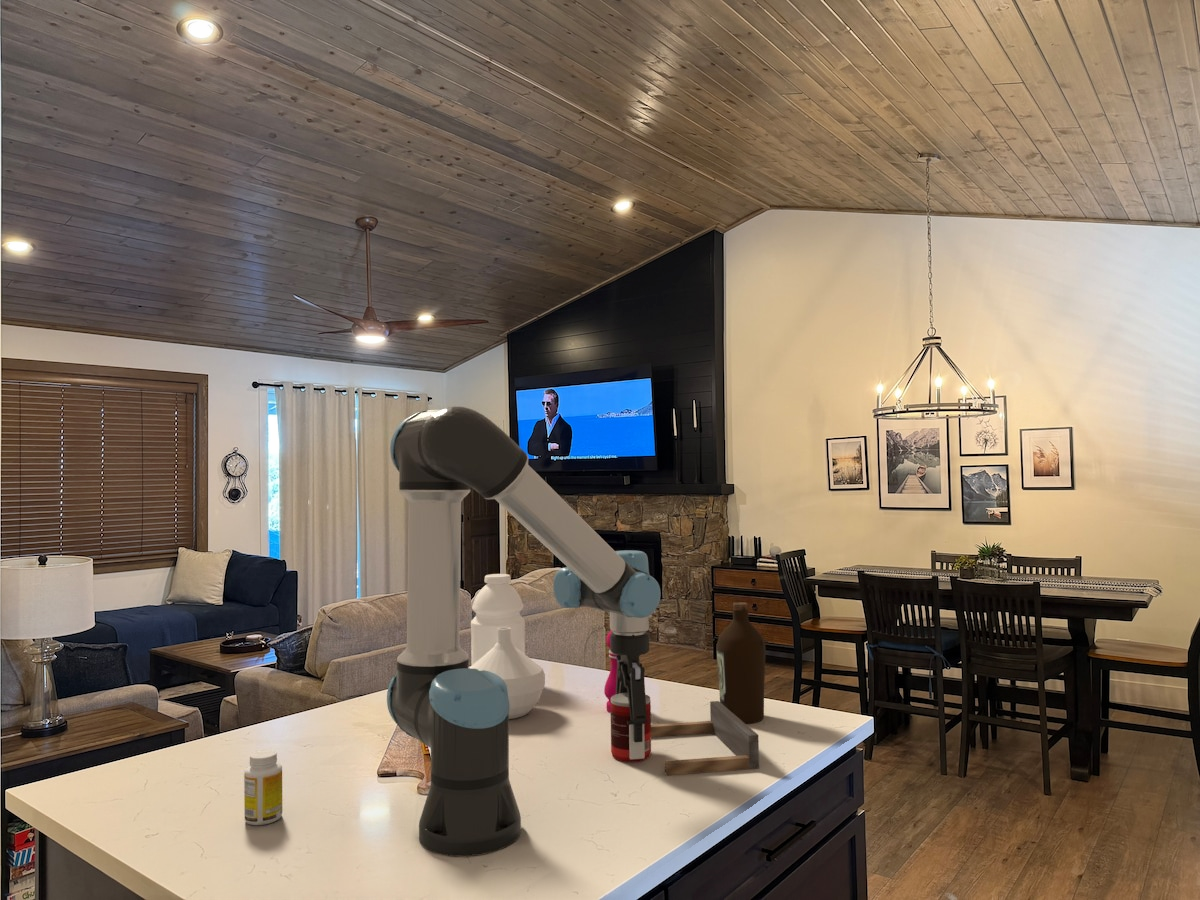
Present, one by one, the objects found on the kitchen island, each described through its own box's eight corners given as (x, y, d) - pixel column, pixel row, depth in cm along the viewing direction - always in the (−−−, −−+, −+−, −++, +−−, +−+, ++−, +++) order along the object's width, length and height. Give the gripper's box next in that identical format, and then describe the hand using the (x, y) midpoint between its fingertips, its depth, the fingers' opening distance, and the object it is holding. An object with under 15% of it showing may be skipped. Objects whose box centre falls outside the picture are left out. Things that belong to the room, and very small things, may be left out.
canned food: (651, 749, 162) (651, 692, 163) (650, 763, 154) (649, 703, 155) (612, 748, 163) (612, 691, 163) (609, 762, 155) (608, 703, 155)
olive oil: (765, 711, 187) (763, 599, 188) (768, 725, 177) (766, 607, 177) (717, 709, 188) (715, 599, 189) (717, 724, 178) (716, 606, 179)
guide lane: (666, 775, 148) (666, 741, 148) (638, 735, 171) (637, 705, 171) (758, 768, 151) (758, 734, 151) (718, 729, 174) (718, 701, 174)
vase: (552, 703, 195) (551, 621, 196) (535, 727, 177) (534, 637, 177) (477, 701, 198) (476, 620, 198) (452, 724, 180) (451, 635, 180)
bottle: (476, 694, 204) (475, 579, 205) (466, 680, 217) (465, 573, 218) (531, 688, 209) (530, 576, 209) (518, 676, 222) (518, 571, 223)
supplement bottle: (286, 811, 134) (286, 747, 134) (276, 825, 128) (276, 759, 129) (250, 813, 133) (250, 748, 134) (239, 827, 128) (239, 760, 128)
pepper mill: (600, 713, 187) (599, 624, 187) (609, 704, 193) (608, 618, 194) (631, 715, 184) (630, 625, 185) (639, 707, 191) (638, 619, 192)
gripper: (663, 642, 149) (664, 768, 148) (636, 620, 171) (637, 730, 170) (622, 644, 148) (623, 771, 147) (600, 622, 170) (601, 732, 169)
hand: (631, 749), depth 159 cm, fingers open, 10 cm apart
